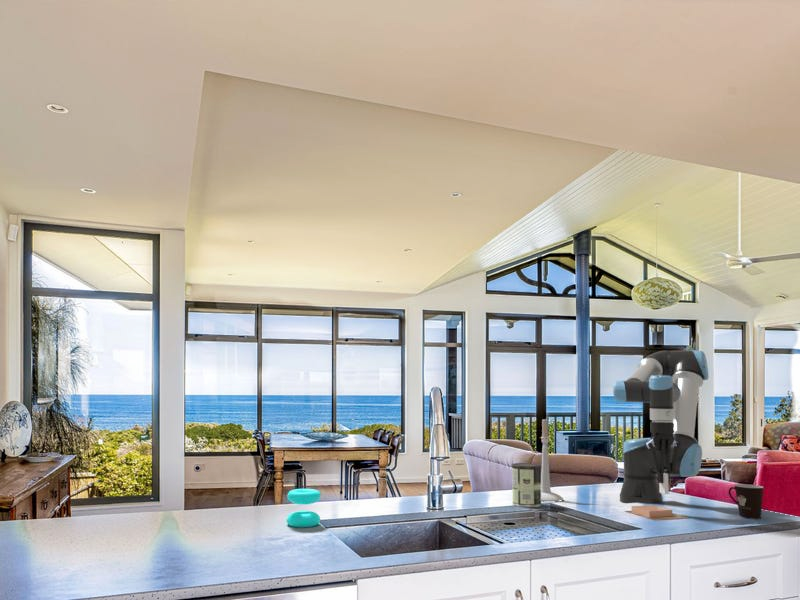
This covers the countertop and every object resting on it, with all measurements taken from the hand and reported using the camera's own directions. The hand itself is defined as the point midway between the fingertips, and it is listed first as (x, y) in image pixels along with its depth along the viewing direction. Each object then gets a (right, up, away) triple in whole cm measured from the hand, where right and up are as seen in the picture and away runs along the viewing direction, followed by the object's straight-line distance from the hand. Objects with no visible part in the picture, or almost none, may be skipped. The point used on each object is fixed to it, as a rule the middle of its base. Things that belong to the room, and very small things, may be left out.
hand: (664, 493), depth 229 cm
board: (-4, -7, -3) cm, 8 cm away
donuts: (-117, -3, -23) cm, 119 cm away
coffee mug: (+29, -8, +1) cm, 30 cm away
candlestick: (-33, -11, +29) cm, 45 cm away
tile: (-1, -6, -1) cm, 6 cm away
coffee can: (-43, -9, +16) cm, 47 cm away
